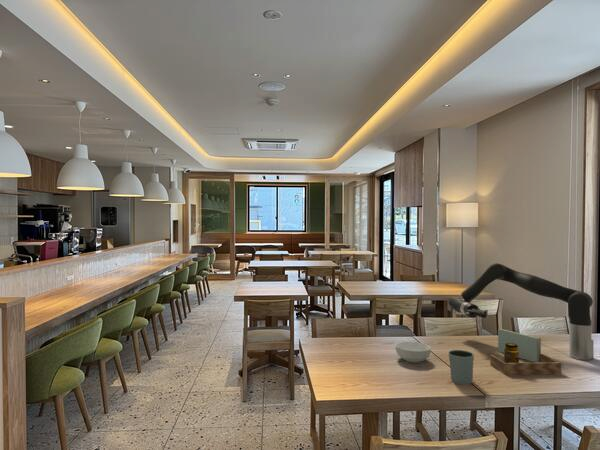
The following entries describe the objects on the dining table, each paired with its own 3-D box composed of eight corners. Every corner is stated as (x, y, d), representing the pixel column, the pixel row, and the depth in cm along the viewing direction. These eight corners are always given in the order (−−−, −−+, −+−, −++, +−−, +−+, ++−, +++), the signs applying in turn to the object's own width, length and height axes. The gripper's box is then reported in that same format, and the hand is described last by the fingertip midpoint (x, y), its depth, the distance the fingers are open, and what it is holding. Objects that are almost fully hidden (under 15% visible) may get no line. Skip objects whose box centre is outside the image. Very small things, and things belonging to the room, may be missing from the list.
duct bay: (542, 364, 195) (542, 353, 195) (561, 373, 182) (561, 362, 182) (490, 365, 194) (490, 354, 194) (505, 374, 181) (505, 363, 181)
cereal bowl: (436, 359, 201) (436, 345, 201) (421, 368, 189) (421, 353, 189) (405, 352, 213) (405, 339, 213) (389, 360, 201) (389, 346, 201)
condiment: (523, 371, 185) (523, 345, 185) (506, 372, 183) (506, 346, 183) (512, 366, 192) (512, 341, 192) (496, 367, 191) (496, 342, 191)
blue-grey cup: (477, 385, 168) (477, 357, 169) (453, 385, 169) (453, 356, 169) (468, 376, 179) (468, 349, 179) (445, 376, 179) (445, 349, 179)
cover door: (541, 363, 195) (541, 337, 195) (539, 364, 195) (539, 338, 195) (499, 351, 215) (499, 327, 215) (498, 351, 215) (498, 327, 215)
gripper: (458, 303, 230) (472, 309, 213) (480, 302, 231) (496, 308, 213) (458, 316, 230) (472, 323, 213) (480, 315, 230) (496, 322, 213)
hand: (484, 315), depth 213 cm, fingers closed
